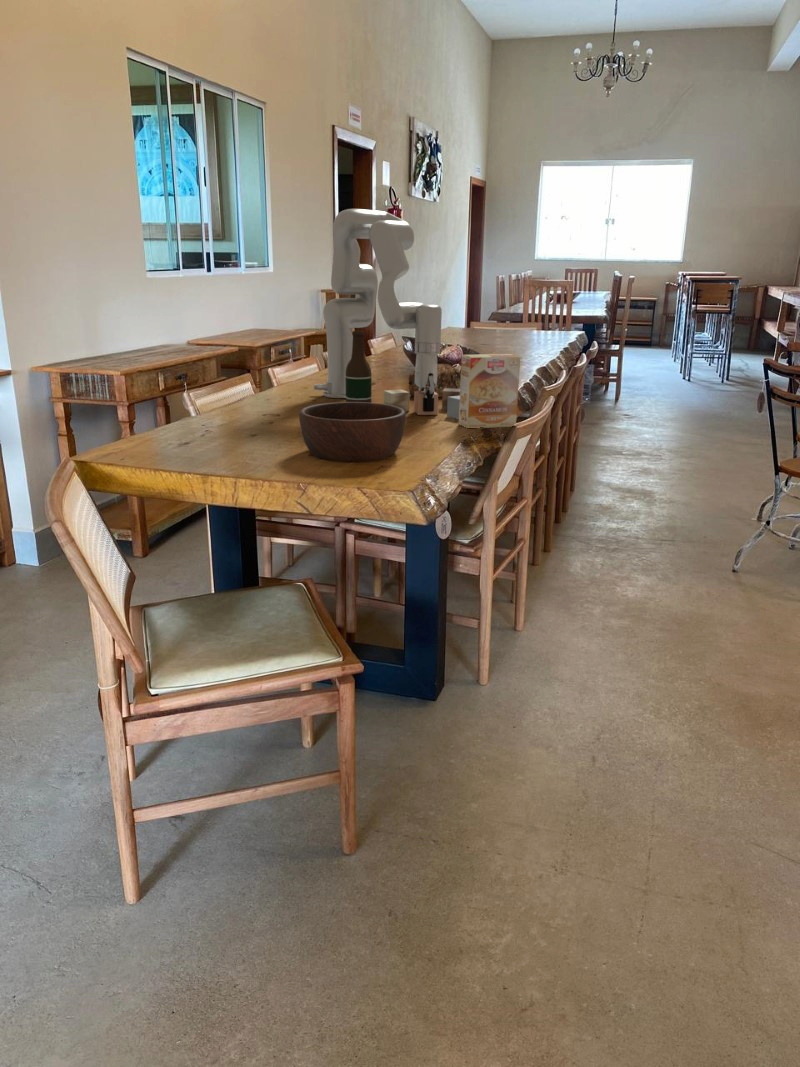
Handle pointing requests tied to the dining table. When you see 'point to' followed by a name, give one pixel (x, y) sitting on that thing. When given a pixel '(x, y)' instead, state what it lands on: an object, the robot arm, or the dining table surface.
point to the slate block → (453, 406)
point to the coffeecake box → (489, 390)
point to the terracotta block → (419, 403)
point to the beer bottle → (358, 372)
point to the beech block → (397, 398)
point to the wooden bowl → (352, 430)
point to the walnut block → (448, 393)
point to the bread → (439, 379)
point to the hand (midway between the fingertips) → (425, 408)
